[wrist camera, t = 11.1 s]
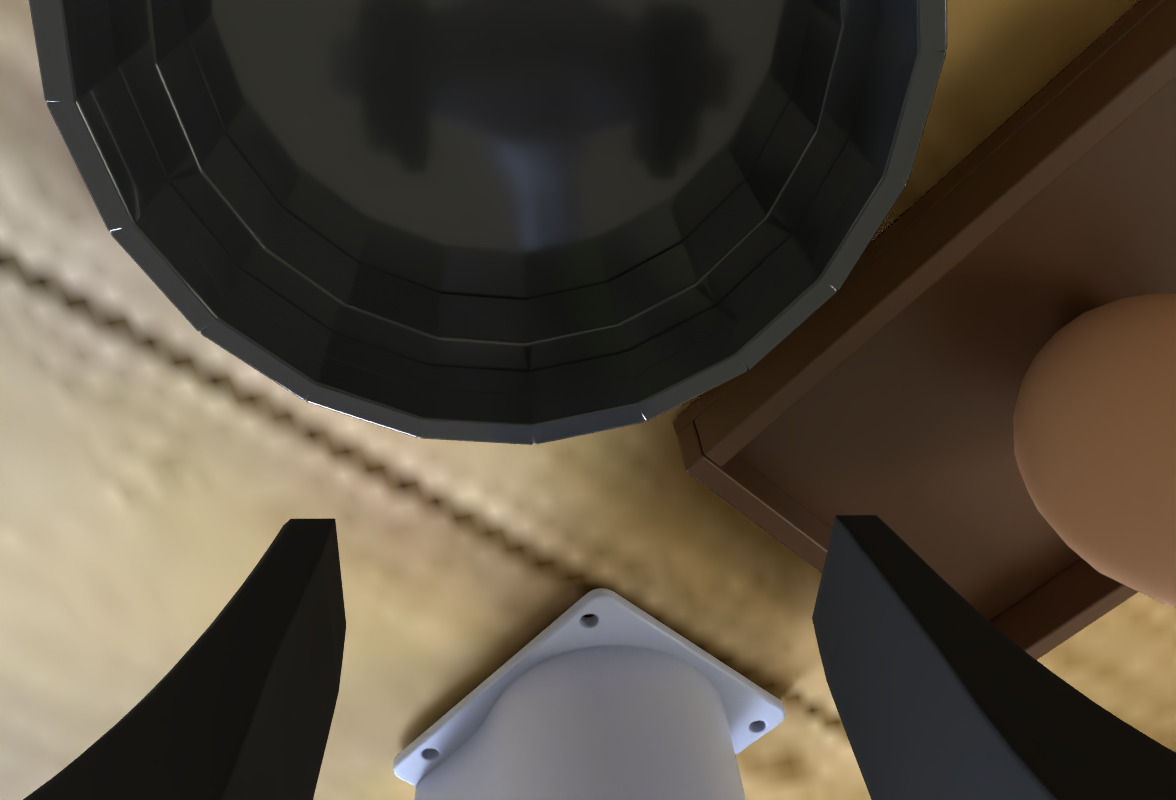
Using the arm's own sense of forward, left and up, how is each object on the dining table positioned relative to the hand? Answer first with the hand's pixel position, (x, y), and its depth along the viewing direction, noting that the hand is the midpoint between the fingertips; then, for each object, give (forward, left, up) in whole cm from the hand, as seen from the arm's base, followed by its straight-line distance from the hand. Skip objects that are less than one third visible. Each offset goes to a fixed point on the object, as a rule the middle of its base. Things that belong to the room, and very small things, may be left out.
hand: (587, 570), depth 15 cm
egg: (+7, -11, -10) cm, 16 cm away
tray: (+7, -11, -10) cm, 16 cm away
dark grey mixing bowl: (+4, +4, -10) cm, 11 cm away
